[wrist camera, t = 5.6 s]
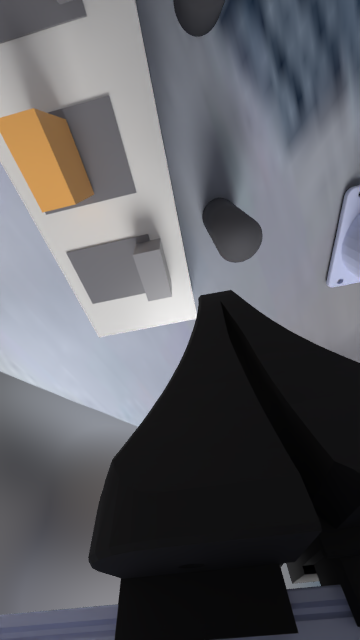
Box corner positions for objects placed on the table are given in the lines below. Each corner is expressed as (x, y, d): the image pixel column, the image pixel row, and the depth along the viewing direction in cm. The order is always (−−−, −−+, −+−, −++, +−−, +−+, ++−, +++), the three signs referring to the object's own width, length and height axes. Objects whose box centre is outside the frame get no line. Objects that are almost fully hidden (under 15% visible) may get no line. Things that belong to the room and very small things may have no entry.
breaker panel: (83, -267, 8) (-70, -1031, 3) (192, 292, 20) (200, 335, 16) (-124, -178, 8) (-543, -660, 3) (109, 309, 21) (92, 355, 16)
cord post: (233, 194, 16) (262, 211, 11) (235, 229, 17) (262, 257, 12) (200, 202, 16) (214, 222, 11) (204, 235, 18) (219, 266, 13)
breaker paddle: (66, 119, 10) (33, 108, 8) (94, 194, 12) (75, 204, 9) (34, 128, 10) (-7, 119, 8) (67, 200, 12) (42, 212, 9)
